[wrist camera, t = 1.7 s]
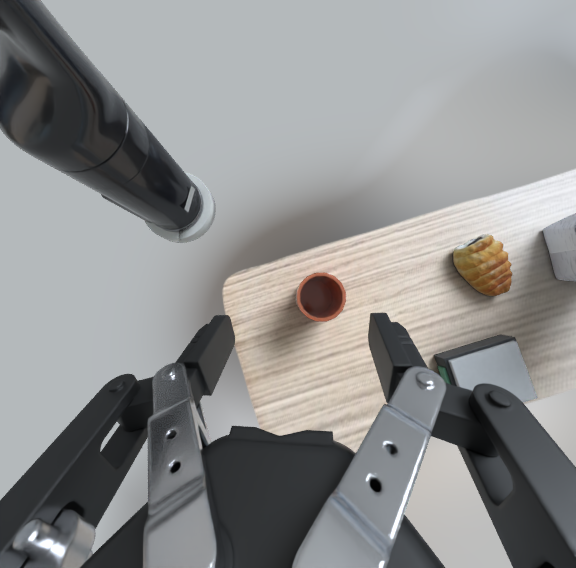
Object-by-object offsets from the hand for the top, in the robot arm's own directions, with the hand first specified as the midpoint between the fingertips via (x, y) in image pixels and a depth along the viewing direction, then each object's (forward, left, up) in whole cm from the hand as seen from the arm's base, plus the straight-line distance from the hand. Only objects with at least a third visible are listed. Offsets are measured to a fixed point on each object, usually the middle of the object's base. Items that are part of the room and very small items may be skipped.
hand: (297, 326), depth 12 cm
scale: (+28, -10, -22) cm, 38 cm away
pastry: (+29, +7, -22) cm, 38 cm away
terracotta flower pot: (+3, +2, -22) cm, 23 cm away
